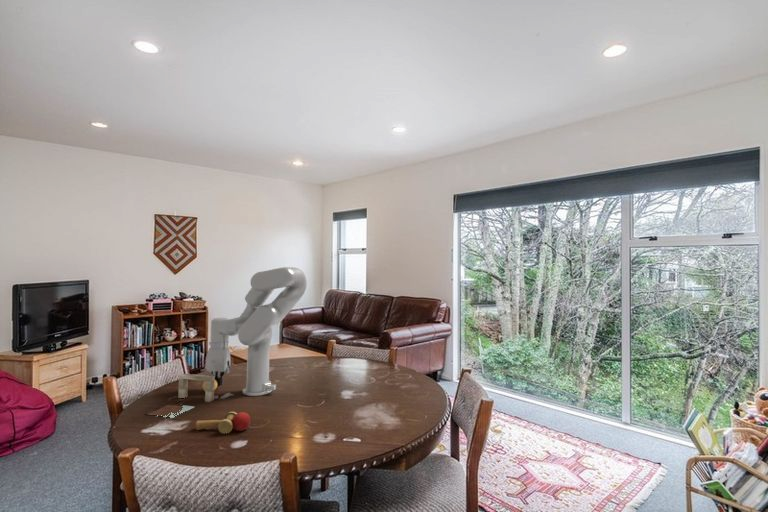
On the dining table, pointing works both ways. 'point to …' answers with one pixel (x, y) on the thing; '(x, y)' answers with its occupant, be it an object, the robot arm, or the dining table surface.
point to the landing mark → (185, 408)
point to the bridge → (184, 379)
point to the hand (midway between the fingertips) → (218, 385)
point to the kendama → (227, 423)
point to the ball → (214, 385)
